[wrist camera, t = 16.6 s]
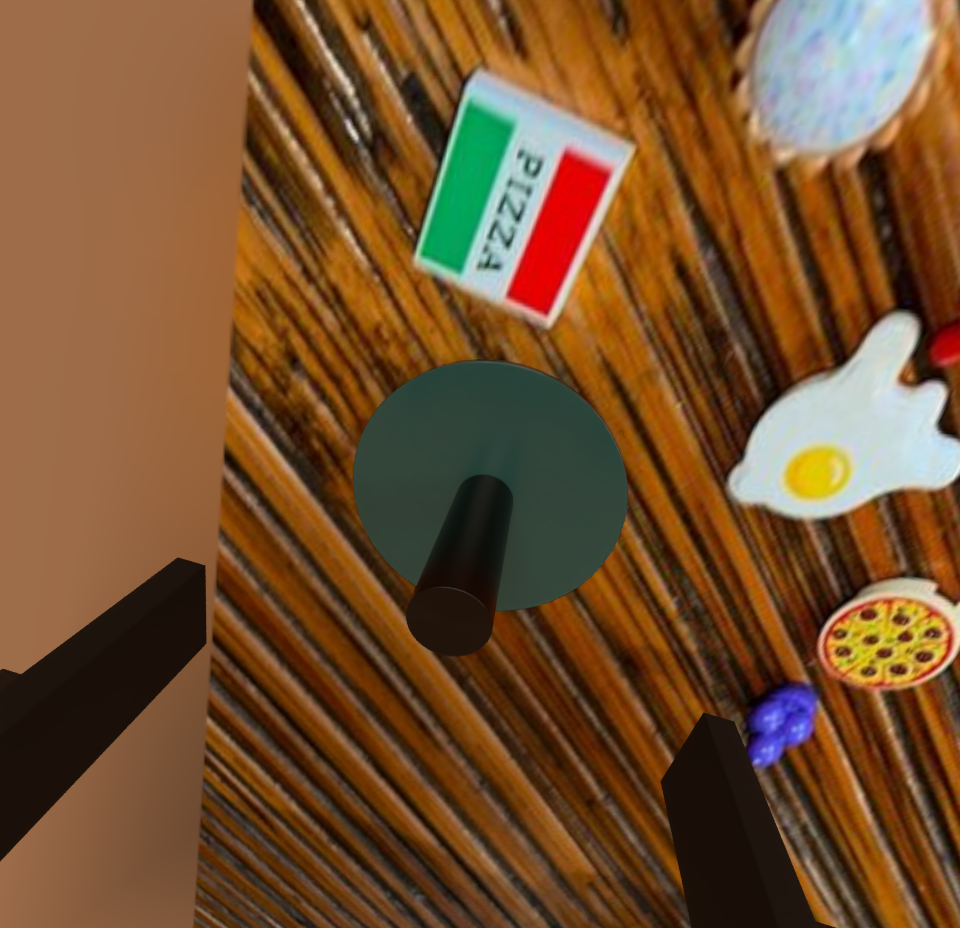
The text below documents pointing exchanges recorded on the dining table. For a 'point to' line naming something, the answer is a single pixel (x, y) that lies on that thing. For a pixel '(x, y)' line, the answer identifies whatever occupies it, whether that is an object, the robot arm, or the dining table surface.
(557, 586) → the lid
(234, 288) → the dining table surface
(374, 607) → the dining table surface
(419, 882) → the dining table surface
